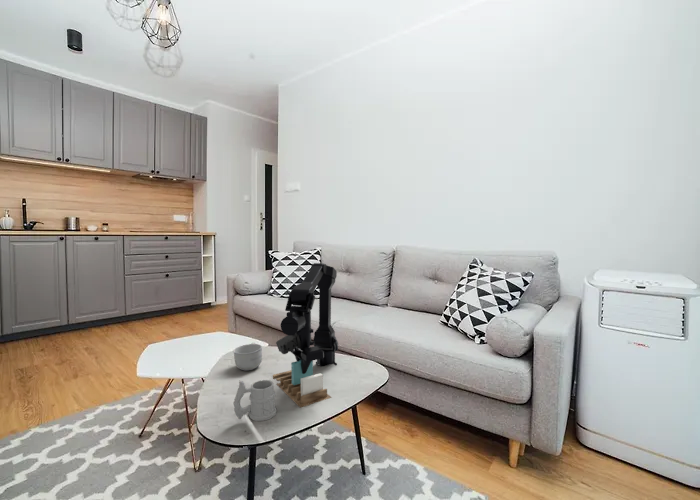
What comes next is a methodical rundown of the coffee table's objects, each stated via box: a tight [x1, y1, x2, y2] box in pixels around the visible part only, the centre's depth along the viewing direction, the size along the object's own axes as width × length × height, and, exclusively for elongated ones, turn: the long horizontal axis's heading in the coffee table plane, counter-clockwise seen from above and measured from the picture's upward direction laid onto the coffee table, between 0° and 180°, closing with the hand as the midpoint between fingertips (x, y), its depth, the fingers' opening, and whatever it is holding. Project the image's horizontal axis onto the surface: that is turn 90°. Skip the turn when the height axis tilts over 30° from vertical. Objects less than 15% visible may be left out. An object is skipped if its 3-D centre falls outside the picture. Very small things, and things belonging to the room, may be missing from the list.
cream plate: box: [301, 372, 324, 396], centre depth 107 cm, size 7×2×7 cm, turn 124°
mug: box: [232, 379, 277, 422], centre depth 97 cm, size 8×12×12 cm, turn 112°
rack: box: [276, 375, 333, 409], centre depth 112 cm, size 11×19×4 cm, turn 34°
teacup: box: [232, 342, 263, 371], centre depth 136 cm, size 14×11×8 cm
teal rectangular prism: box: [290, 360, 314, 385], centre depth 112 cm, size 7×2×7 cm, turn 124°
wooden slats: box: [272, 369, 292, 382], centre depth 124 cm, size 8×5×2 cm, turn 124°
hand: (302, 372), depth 112 cm, fingers closed on teal rectangular prism, 2 cm apart
